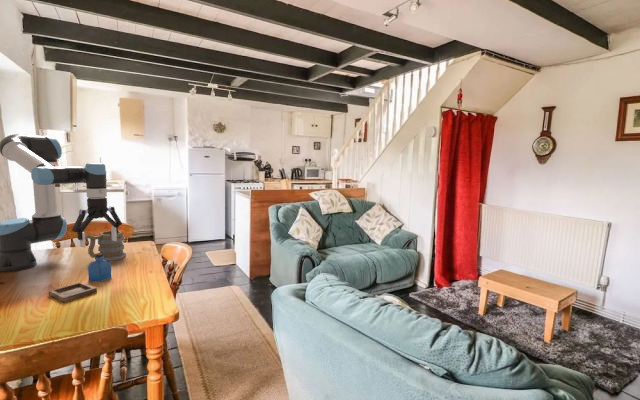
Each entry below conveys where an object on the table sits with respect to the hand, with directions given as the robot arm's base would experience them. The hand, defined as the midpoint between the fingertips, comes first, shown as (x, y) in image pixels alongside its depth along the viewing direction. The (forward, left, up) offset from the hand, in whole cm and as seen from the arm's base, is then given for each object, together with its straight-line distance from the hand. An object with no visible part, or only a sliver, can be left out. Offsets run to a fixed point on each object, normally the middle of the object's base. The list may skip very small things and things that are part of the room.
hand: (99, 243), depth 152 cm
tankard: (-27, +17, -17) cm, 36 cm away
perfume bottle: (0, 0, -17) cm, 17 cm away
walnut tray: (+8, -15, -17) cm, 24 cm away
